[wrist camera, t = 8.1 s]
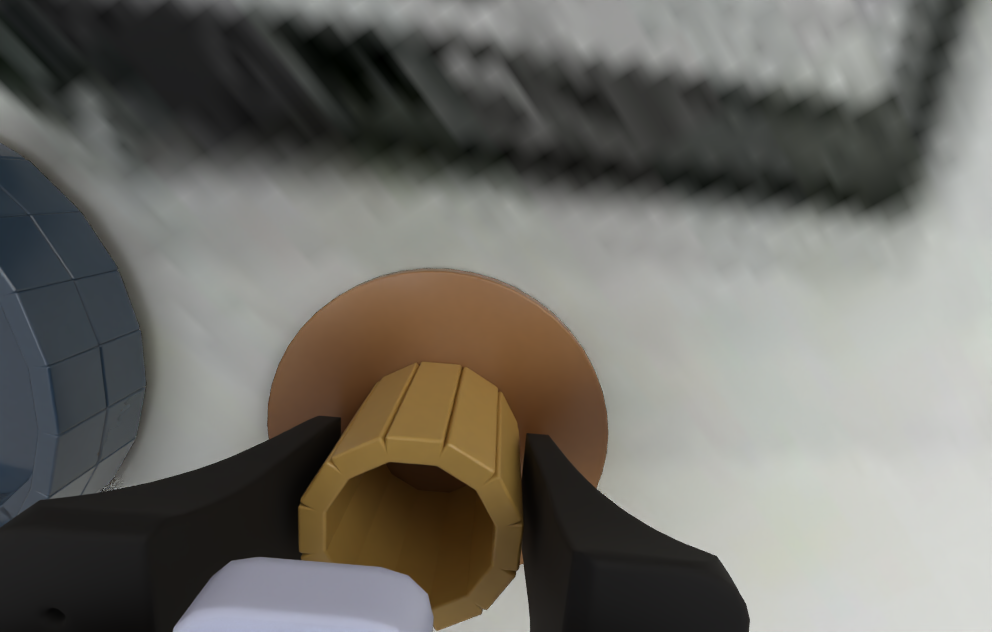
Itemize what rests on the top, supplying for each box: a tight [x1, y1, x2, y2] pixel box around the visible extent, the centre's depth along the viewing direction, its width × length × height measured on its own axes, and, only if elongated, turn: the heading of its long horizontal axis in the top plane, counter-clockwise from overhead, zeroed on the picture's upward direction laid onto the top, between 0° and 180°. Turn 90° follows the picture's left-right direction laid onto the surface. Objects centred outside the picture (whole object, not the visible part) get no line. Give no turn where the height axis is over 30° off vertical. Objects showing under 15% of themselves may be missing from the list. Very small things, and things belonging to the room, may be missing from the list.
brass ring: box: [298, 362, 524, 631], centre depth 13 cm, size 5×5×4 cm
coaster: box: [267, 268, 608, 565], centre depth 15 cm, size 10×10×1 cm
